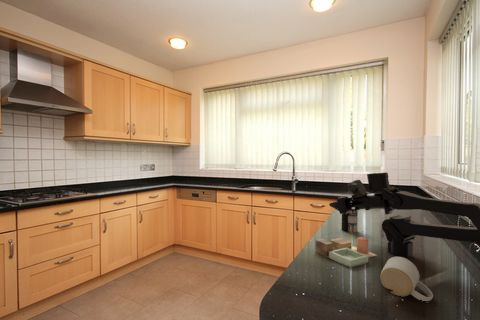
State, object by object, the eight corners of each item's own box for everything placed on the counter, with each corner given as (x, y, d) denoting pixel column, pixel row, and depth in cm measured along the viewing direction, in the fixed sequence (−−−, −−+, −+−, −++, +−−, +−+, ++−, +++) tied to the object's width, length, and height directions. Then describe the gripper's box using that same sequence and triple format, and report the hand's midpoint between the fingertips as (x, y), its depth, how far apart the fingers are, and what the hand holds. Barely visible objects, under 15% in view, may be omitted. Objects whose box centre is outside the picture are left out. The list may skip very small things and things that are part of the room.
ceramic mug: (378, 291, 62) (379, 262, 62) (385, 280, 68) (386, 252, 68) (431, 310, 55) (432, 276, 55) (433, 295, 61) (435, 264, 61)
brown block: (333, 255, 82) (333, 243, 82) (326, 256, 80) (326, 244, 80) (321, 249, 86) (321, 238, 86) (315, 251, 85) (315, 239, 85)
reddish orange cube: (370, 252, 84) (370, 239, 84) (363, 254, 82) (363, 241, 82) (361, 249, 87) (361, 236, 87) (354, 251, 86) (354, 238, 85)
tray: (368, 262, 76) (368, 256, 76) (350, 267, 72) (350, 260, 72) (346, 253, 83) (346, 247, 83) (329, 257, 79) (329, 251, 79)
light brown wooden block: (351, 250, 86) (351, 242, 86) (341, 253, 84) (341, 244, 84) (339, 246, 90) (339, 238, 90) (330, 248, 88) (330, 239, 88)
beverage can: (343, 230, 115) (344, 205, 115) (358, 233, 111) (359, 207, 111) (339, 233, 110) (339, 207, 110) (355, 236, 106) (355, 209, 106)
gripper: (380, 177, 97) (345, 181, 110) (353, 183, 87) (318, 186, 100) (386, 205, 96) (350, 206, 109) (360, 214, 86) (323, 214, 98)
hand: (336, 202), depth 104 cm, fingers open, 9 cm apart
